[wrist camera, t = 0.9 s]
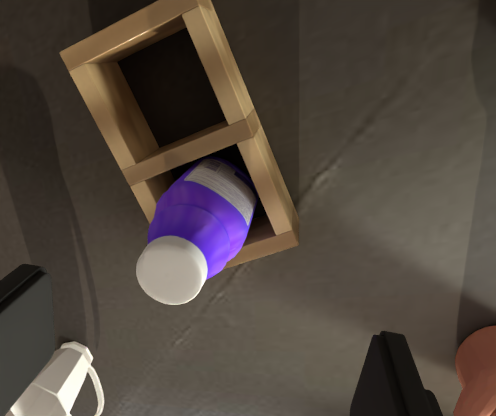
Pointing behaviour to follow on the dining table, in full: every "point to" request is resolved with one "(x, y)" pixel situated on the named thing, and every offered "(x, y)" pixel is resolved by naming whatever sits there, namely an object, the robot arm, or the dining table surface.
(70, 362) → the cup
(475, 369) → the decorative flower
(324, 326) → the dining table surface
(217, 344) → the dining table surface
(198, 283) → the bottle
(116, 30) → the rack
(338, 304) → the dining table surface
